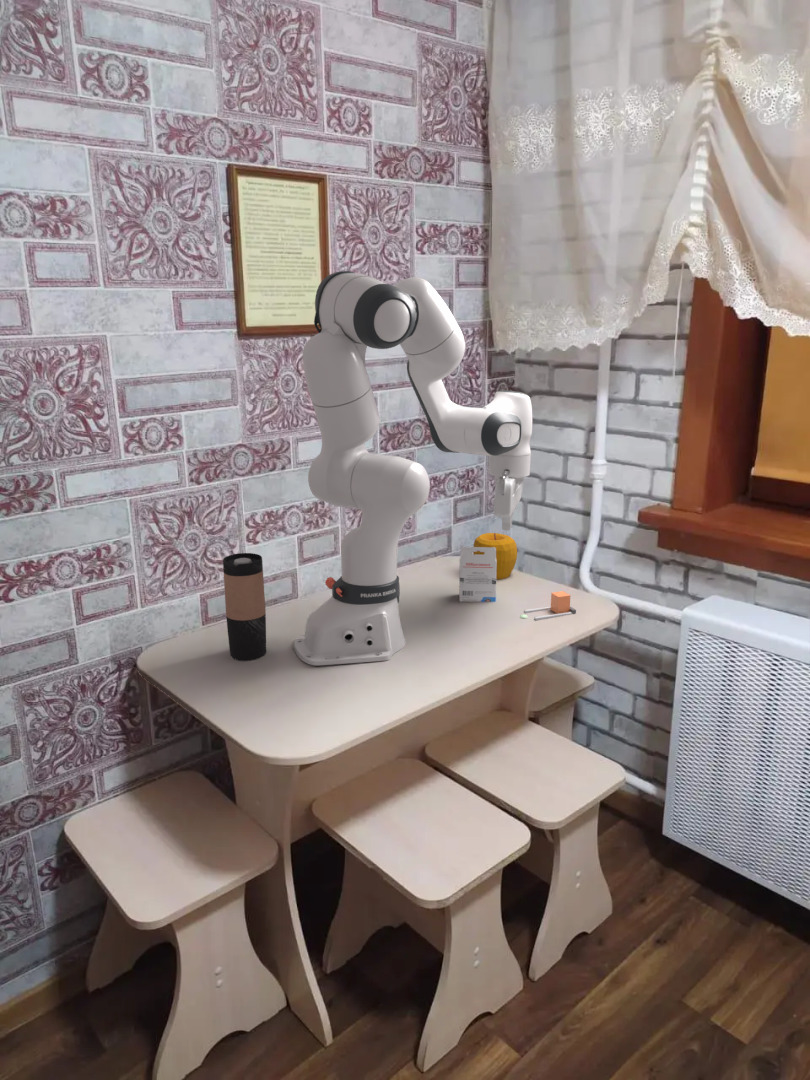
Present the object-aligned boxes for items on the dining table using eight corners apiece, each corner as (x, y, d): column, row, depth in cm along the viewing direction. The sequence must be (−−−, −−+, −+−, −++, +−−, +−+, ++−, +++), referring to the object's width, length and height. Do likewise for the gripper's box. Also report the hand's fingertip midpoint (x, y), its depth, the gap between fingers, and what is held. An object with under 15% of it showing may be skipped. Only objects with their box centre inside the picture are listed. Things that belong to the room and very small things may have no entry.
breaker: (557, 615, 173) (558, 597, 172) (550, 611, 176) (551, 592, 175) (569, 614, 174) (570, 595, 173) (562, 609, 177) (563, 591, 176)
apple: (524, 582, 201) (526, 533, 197) (497, 592, 193) (499, 541, 190) (490, 572, 208) (491, 525, 205) (463, 582, 201) (464, 533, 197)
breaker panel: (528, 630, 169) (528, 618, 168) (496, 607, 183) (496, 596, 182) (577, 623, 173) (578, 611, 173) (543, 601, 187) (543, 590, 186)
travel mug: (263, 644, 163) (258, 551, 157) (271, 658, 156) (266, 561, 150) (226, 649, 160) (219, 555, 155) (232, 664, 153) (225, 566, 148)
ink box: (495, 601, 187) (497, 541, 183) (495, 609, 182) (497, 547, 178) (459, 600, 188) (460, 541, 184) (458, 607, 183) (459, 546, 179)
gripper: (518, 475, 160) (515, 541, 163) (528, 460, 179) (525, 520, 183) (488, 473, 162) (485, 538, 165) (501, 459, 181) (498, 518, 184)
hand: (506, 529), depth 174 cm, fingers closed
